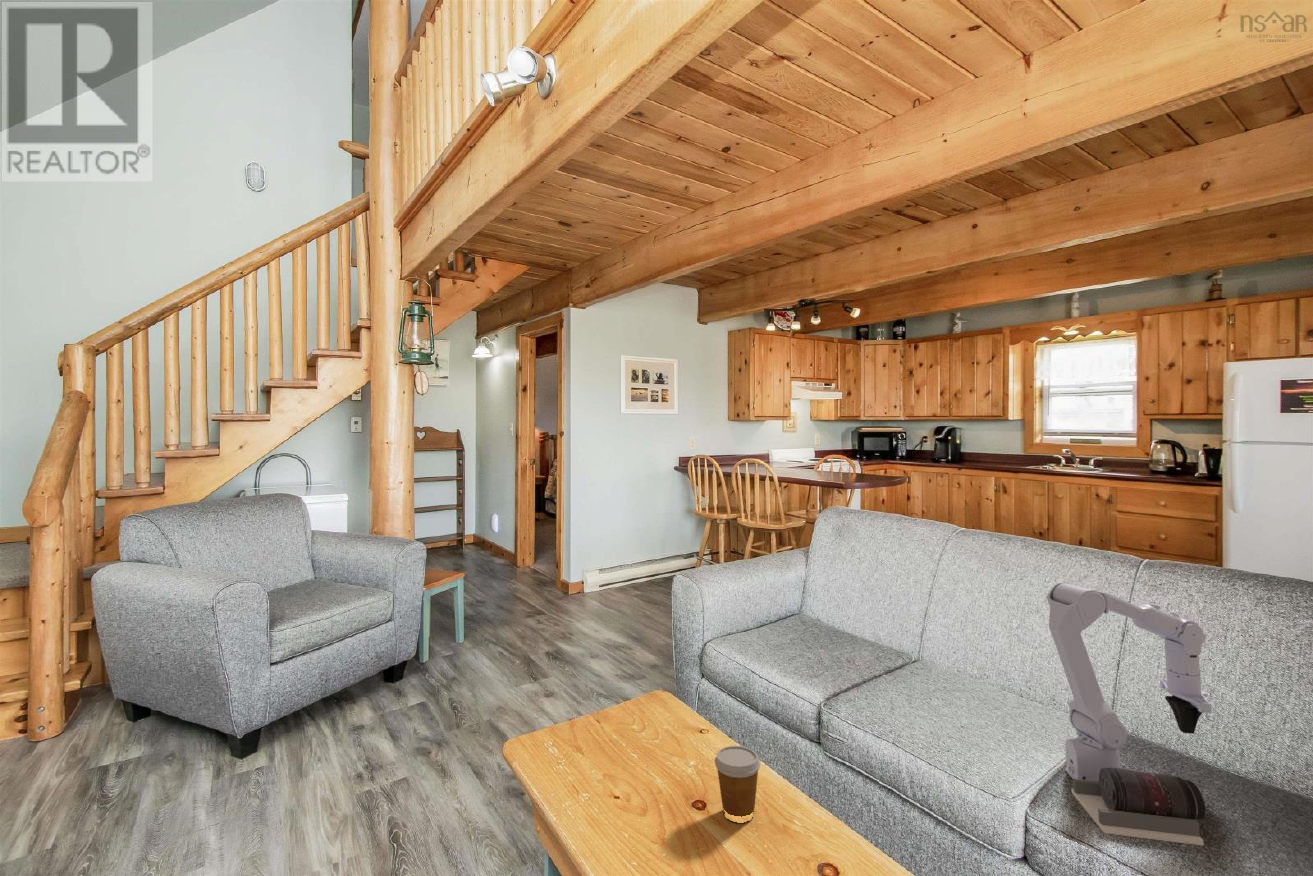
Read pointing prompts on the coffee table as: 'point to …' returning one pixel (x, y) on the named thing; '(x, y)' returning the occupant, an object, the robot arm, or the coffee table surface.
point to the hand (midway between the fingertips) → (1186, 732)
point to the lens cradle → (1134, 818)
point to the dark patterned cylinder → (1151, 794)
